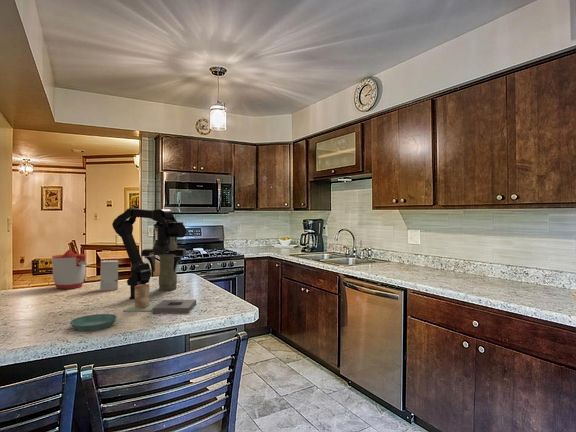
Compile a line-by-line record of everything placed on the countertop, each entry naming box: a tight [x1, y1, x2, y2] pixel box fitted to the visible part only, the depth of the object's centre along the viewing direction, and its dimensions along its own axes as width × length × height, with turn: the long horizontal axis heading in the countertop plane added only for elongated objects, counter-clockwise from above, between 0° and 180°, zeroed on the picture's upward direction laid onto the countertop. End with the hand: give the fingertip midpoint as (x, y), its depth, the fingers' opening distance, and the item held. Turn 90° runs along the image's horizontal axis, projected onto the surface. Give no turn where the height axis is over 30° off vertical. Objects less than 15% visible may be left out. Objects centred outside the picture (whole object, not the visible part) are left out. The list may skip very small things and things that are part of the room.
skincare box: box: [99, 259, 119, 292], centre depth 194 cm, size 8×6×15 cm
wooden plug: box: [134, 283, 150, 308], centre depth 156 cm, size 4×4×9 cm
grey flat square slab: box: [152, 299, 197, 314], centre depth 155 cm, size 14×14×2 cm
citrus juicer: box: [51, 249, 88, 290], centre depth 200 cm, size 16×17×20 cm
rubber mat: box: [123, 303, 158, 313], centre depth 156 cm, size 11×11×1 cm
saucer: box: [69, 313, 118, 332], centre depth 132 cm, size 15×15×3 cm
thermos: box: [158, 237, 178, 292], centre depth 195 cm, size 9×12×35 cm
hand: (164, 271), depth 170 cm, fingers open, 9 cm apart
